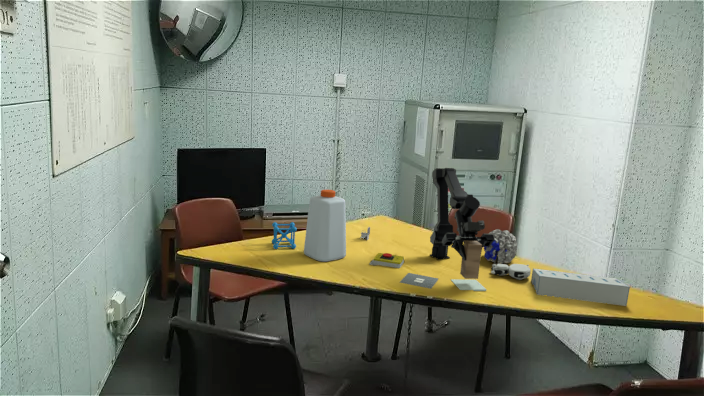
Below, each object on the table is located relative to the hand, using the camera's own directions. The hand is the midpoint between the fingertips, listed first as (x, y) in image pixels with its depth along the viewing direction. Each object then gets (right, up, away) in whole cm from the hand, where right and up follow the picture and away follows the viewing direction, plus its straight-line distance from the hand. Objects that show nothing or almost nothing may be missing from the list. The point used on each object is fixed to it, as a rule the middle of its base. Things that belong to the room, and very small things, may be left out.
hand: (472, 260), depth 180 cm
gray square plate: (-19, -9, +5) cm, 21 cm away
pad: (-1, -10, +3) cm, 10 cm away
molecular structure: (-74, +1, +38) cm, 84 cm away
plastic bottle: (-56, -2, +28) cm, 62 cm away
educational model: (+20, -5, +37) cm, 42 cm away
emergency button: (-29, -5, +23) cm, 37 cm away
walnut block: (-1, -6, +3) cm, 7 cm away
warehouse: (+39, -13, +3) cm, 41 cm away
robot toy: (+19, -9, +17) cm, 28 cm away
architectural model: (-41, +2, +53) cm, 68 cm away
